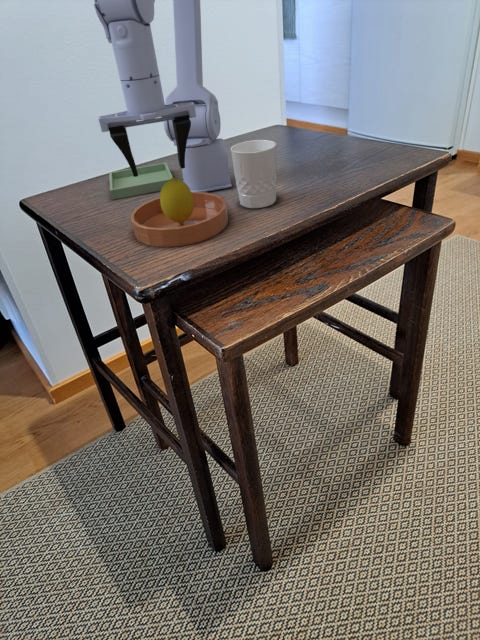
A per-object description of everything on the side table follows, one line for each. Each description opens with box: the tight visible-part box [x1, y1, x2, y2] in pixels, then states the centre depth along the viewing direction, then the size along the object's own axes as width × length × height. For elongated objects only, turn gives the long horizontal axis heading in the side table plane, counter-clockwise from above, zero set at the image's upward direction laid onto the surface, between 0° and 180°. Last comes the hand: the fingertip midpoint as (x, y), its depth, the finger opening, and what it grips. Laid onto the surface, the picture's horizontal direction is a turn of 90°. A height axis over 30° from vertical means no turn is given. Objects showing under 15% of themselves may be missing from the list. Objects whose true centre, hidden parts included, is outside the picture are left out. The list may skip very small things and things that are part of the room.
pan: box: [130, 192, 229, 248], centre depth 77 cm, size 16×16×3 cm
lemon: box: [159, 177, 194, 224], centre depth 75 cm, size 6×6×8 cm
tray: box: [108, 162, 174, 200], centre depth 98 cm, size 13×13×2 cm
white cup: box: [230, 139, 278, 209], centre depth 80 cm, size 8×8×10 cm
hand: (159, 170), depth 73 cm, fingers open, 7 cm apart
